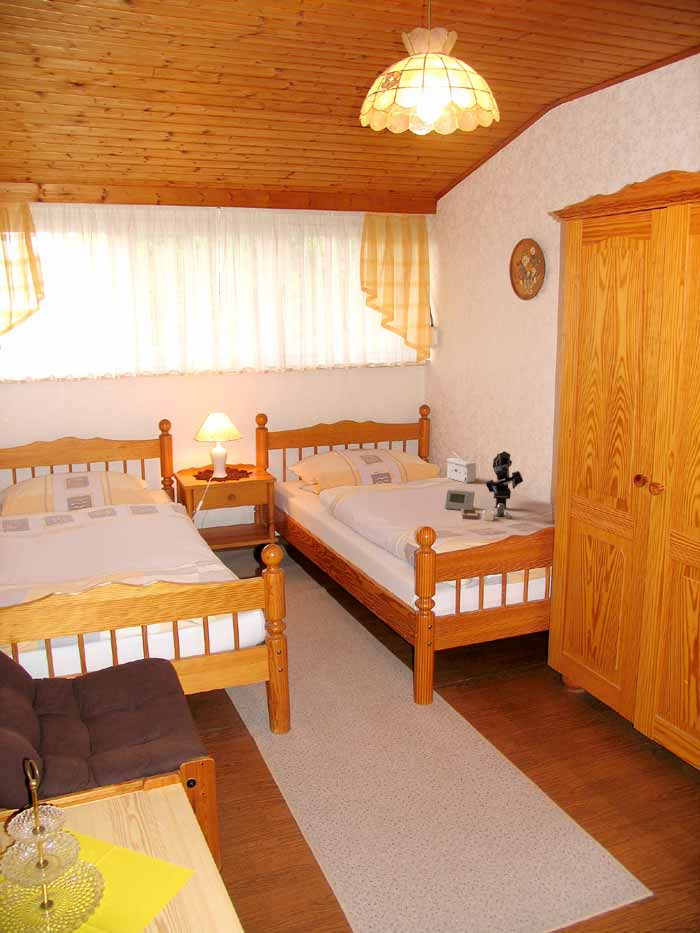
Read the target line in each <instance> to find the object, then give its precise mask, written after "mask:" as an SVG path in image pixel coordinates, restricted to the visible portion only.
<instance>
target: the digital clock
mask: <svg viewBox="0 0 700 933" xmlns="http://www.w3.org/2000/svg"><path fill="white" fill-rule="evenodd" d="M474 500H475V491H473V490H466V489H456V488H454V489H453V488H447V489H446V491H445V497H444V506H443V507H444V509H446V510H447V509H450V510H453V511H462V509H474Z"/></svg>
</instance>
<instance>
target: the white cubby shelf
mask: <svg viewBox="0 0 700 933" xmlns="http://www.w3.org/2000/svg"><path fill="white" fill-rule="evenodd" d="M493 514H494V511H493V510H488V509H487V510H482V521H493V520H494V519H493Z"/></svg>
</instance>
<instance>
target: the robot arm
mask: <svg viewBox="0 0 700 933" xmlns="http://www.w3.org/2000/svg"><path fill="white" fill-rule="evenodd" d="M512 464H513V461H512V459H511V454H510V453H509V452H507V451H502V452H500V453H497V454H496V456H495V457H494V458H493V460H492V469H493V472H494V473H495V475H496V479H497V480H495V481H494V480H493V479H490V480H487V481H486V482H485V486H486V488H487V489H488V491H489V493H493V499H495V506H494V508H495V509H497V505H498V504H499V503H503V504H504V509H507V508H508V507H507V500H510V499H511V493H512V491H511V488H510V487H509V484H511V485H512V486H511V487H512V489H513V490H515V488H516V487H518V485H520V484H521V483H523V481H524V479H523V476H522V474H521V472H520V471H514V472H511V476H510V467H511V466H512Z"/></svg>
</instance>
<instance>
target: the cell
mask: <svg viewBox="0 0 700 933" xmlns="http://www.w3.org/2000/svg"><path fill="white" fill-rule="evenodd" d="M496 514H497V517H499V518H503V517H504V514H505V508H504V504H503V503H499V504H498V505H497V508H496Z"/></svg>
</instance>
